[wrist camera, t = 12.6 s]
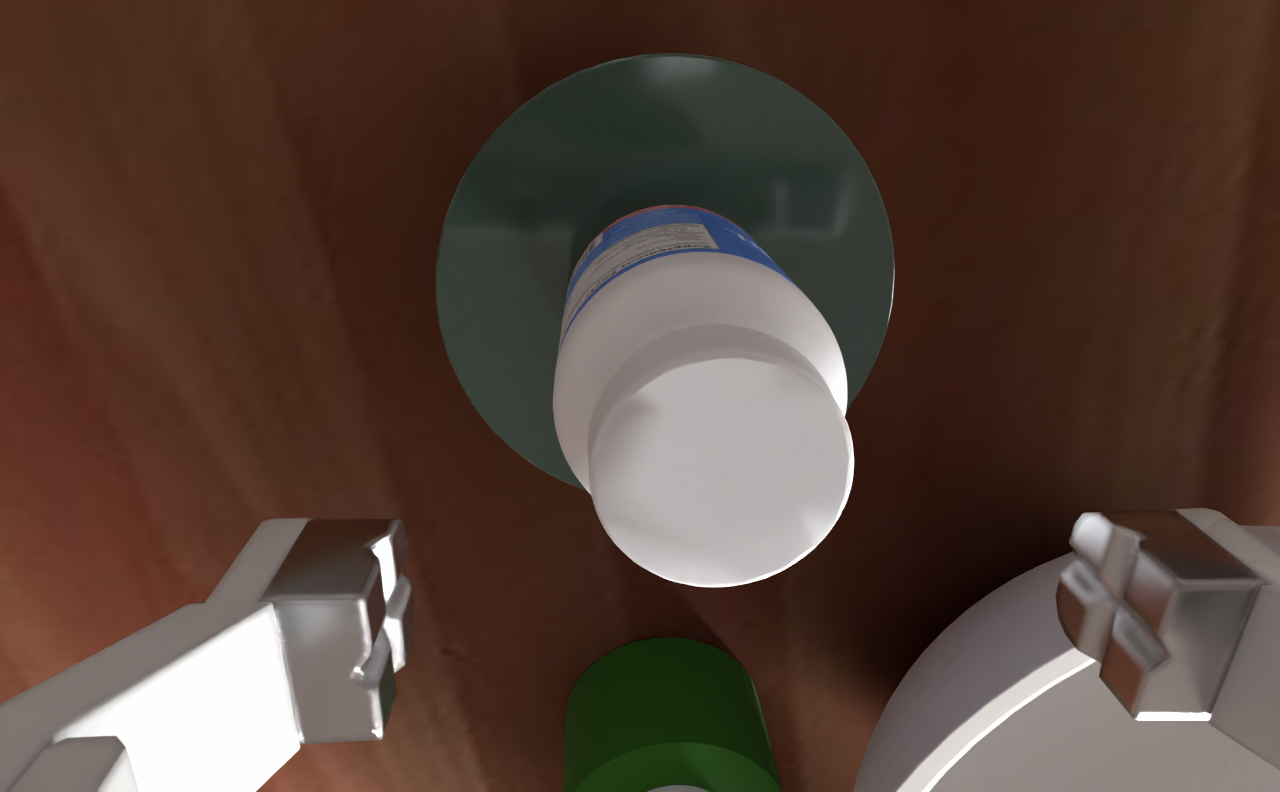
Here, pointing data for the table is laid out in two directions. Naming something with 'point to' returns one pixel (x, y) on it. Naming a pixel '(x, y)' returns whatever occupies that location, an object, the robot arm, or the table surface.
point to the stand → (638, 179)
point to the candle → (667, 723)
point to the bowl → (1038, 713)
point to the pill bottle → (701, 400)
